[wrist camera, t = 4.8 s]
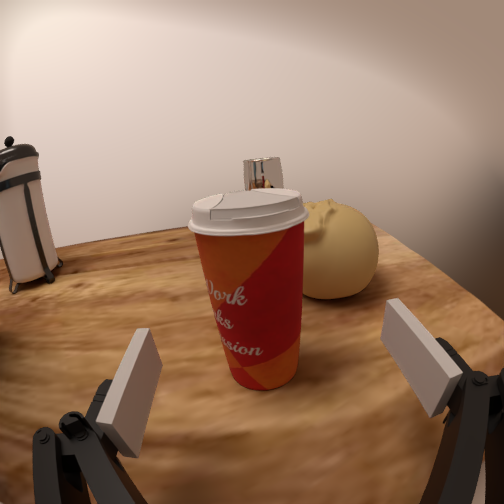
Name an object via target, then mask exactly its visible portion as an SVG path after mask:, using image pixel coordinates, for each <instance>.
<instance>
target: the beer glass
mask: <svg viewBox="0 0 504 504" xmlns="http://www.w3.org/2000/svg"><path fill="white" fill-rule="evenodd" d="M243 162H244V183H245V190H246V191H251V189H262V188H280V189H283V175H282V169H281V163H280V158H279V157H275V158H260V159H250V160H244V161H243Z"/></svg>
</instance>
